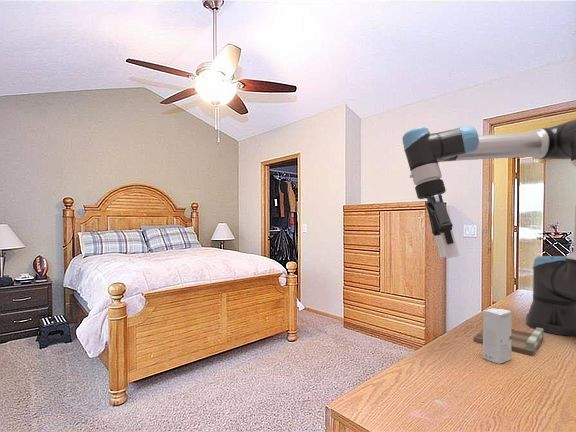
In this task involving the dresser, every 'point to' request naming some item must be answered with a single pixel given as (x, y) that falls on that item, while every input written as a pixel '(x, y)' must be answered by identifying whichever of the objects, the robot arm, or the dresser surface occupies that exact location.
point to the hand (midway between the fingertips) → (449, 257)
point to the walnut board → (521, 340)
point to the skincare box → (497, 335)
